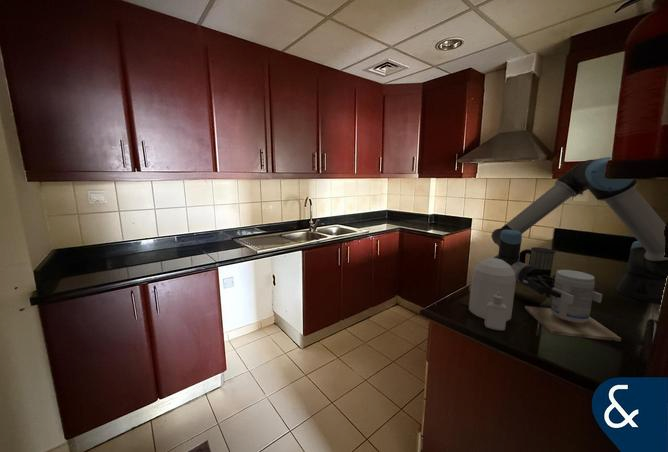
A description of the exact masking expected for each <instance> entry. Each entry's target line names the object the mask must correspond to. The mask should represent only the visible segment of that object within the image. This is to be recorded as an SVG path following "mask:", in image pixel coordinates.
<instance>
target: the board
mask: <svg viewBox="0 0 668 452" xmlns="http://www.w3.org/2000/svg"><path fill="white" fill-rule="evenodd" d="M524 309H525V310H526V311H527V312H528V313H529V314H530V315H531V316H532V317H533V318H534V319H536V320H537V322H538V323H539V324H540V325H541V326H542V327H544V329H545V330H547V332H548V333H550V334H551V335H560V336H569V337H577V338H586V339H587V338H588V339H594V340H604V341H612V340H614V342H621V341H622V337H620V336H618V335H617V334H616V333H615V332H613V331H612V330H610V329H608V328H607V327H605V326H604V325H603V324H602V323H600V322H598V321H597V320H595V319H594V318H592V317H591V316H590V317H589V320H588V321H587V322H583V323H578V322H572V321H567V320H564V319H561V318H559V317H557V316H555V315H554V314H553V313H552V312H551V307H539V306H530V305H529V306H528V305H525V306H524Z"/></svg>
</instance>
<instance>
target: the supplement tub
mask: <svg viewBox="0 0 668 452" xmlns="http://www.w3.org/2000/svg"><path fill="white" fill-rule="evenodd" d="M554 276H555V283H554V288H556V289H558V290H561V291H563V292H566V293H568V294H570V295H573V296H574V301H573V304H569V303H566V302H564V301H562V300H560V299H558V298H555V297H553V296H552V300H551V307H550V308H551V312H552V313H553V314H554V315H555V316H557V317H559V318H561V319H564V320H567V321H572V322H578V323H583V322H587V321H588V320H589V317H591V316H590V315H591V308H592V304H593V303H592V302H593V300H592V298H593V291H594V292H595V290H594V289H595V284H596V283H595V282H596V281H595V278H596V277H595V276H594V275H592V274H589V273H587V272H584V271H577V270H571V269H557V270H556V273H555V275H554Z"/></svg>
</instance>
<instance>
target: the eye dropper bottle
mask: <svg viewBox="0 0 668 452" xmlns="http://www.w3.org/2000/svg"><path fill="white" fill-rule="evenodd" d="M502 299H503V297H502V296H500V292H497V294H496V295H494V297H493V302H489V303H487V306H486V314H485V319H484V326H485V328H488V329H491V330H494V331H505V330H506V325H507V321H506V318H507V307H506V306H505V305H504V304H502Z"/></svg>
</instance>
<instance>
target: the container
mask: <svg viewBox="0 0 668 452" xmlns="http://www.w3.org/2000/svg"><path fill="white" fill-rule="evenodd" d="M516 282H517V280H515V272H514V270H513V269H512V267H511V266H510V265H509V264H507V263H506V262H505V261H503V260H501V259H497V258H494V257H487V258H485V259H482V260H480V261H478V262H477V263H475V265H474V267H473V271H472V274H471V283H470V293H469V303H468V310H469V311H470V313H472V314H473V315H475V316H477V317H478V318H481V319H484V320H485V314H486V306H487V303H489V302H493V297H494V295H496V294H497V292H500V296H502V297H503V299H502V304H504V305H505V306H506V307H507V318H506V322H508V321H510V320H511V319H512V313H513V307H514V300H515V299H514V298H515V291H516Z"/></svg>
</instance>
